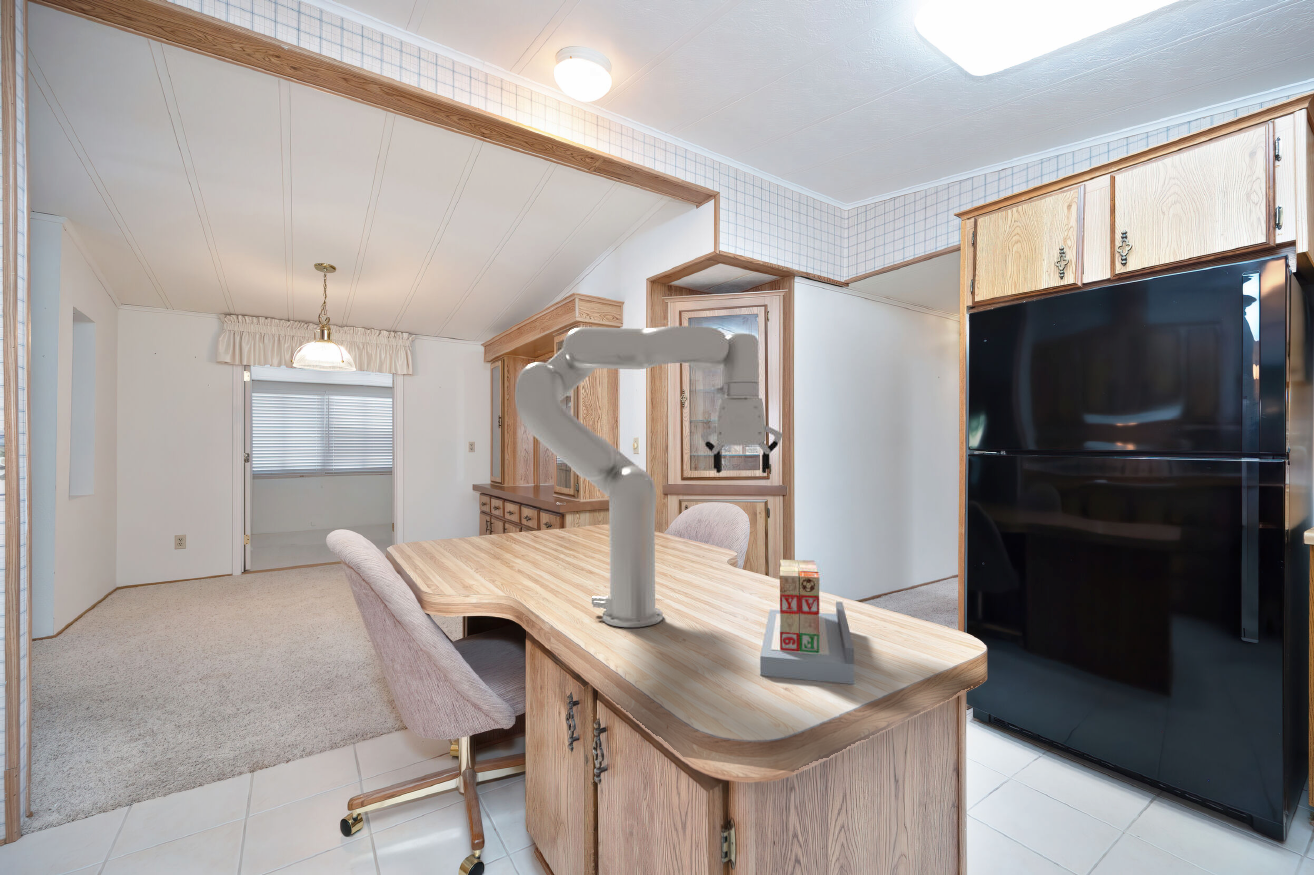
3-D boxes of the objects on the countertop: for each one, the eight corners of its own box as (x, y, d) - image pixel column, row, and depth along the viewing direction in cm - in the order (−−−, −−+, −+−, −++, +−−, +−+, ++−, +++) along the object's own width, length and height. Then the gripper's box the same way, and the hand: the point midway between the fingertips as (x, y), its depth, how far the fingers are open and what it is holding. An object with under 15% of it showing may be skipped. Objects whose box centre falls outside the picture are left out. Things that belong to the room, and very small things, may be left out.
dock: (760, 675, 89) (760, 640, 89) (769, 624, 114) (769, 597, 114) (854, 684, 86) (854, 648, 86) (842, 629, 111) (842, 601, 111)
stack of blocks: (781, 612, 112) (780, 549, 112) (813, 614, 111) (813, 550, 111) (779, 650, 91) (779, 573, 91) (820, 653, 90) (819, 575, 90)
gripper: (697, 392, 120) (698, 473, 120) (781, 389, 115) (782, 473, 115) (703, 395, 127) (704, 471, 127) (782, 393, 123) (783, 472, 122)
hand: (741, 472), depth 121 cm, fingers open, 9 cm apart
